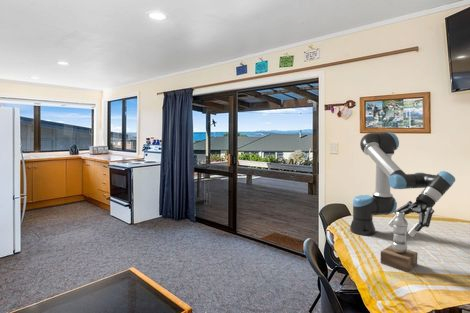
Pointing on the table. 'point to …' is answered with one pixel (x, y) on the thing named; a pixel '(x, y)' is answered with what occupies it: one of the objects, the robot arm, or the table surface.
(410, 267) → the walnut block
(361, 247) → the table surface
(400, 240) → the plastic bottle
